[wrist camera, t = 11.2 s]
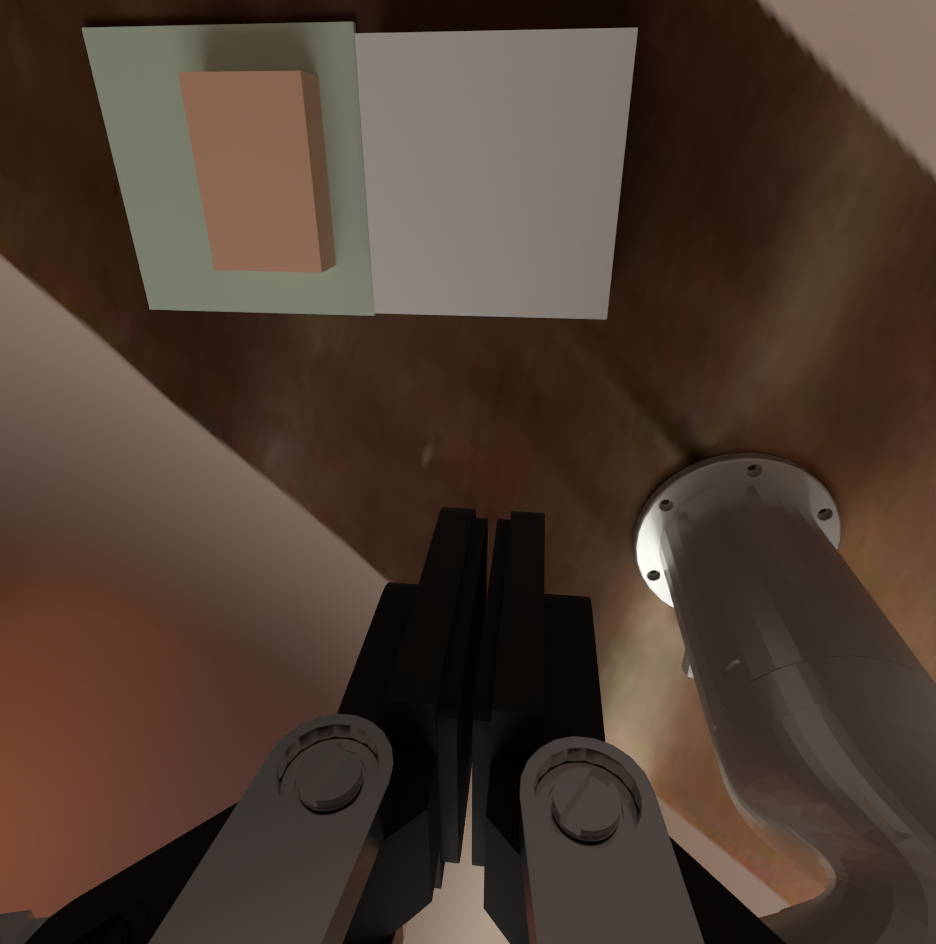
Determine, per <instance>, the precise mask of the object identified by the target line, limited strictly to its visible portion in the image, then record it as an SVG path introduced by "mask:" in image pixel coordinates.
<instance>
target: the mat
mask: <svg viewBox="0 0 936 944" xmlns="http://www.w3.org/2000/svg"><path fill="white" fill-rule="evenodd" d="M82 32H83V36H84V40H85V44H86V48H87V52H88V57H89V61H90V65H91V69H92V73H93V77H94V81H95V85H96V89H97V94H98V98H99V102H100V106H101V110H102V114H103V118H104V122H105V127H106V131H107V135H108V139H109V143H110V147H111V151H112V155H113V159H114V164H115V168H116V172H117V176H118V180H119V184H120V188H121V192H122V196H123V201H124V205H125V209H126V213H127V217H128V221H129V225H130V229H131V234H132V238H133V242H134V246H135V250H136V254H137V258H138V262H139V266H140V271H141V275H142V279H143V283H144V287H145V291H146V295H147V299H148V303H149V308H150V309H152V310H188V311H225V312H261V313H297V314H333V315H369V316H374V315H375V314H376V313H374V301H373V287H372V273H371V259H370V245H369V231H368V217H367V203H366V189H365V175H364V161H363V147H362V133H361V119H360V105H359V91H358V77H357V63H356V49H355V35H354V33H356V23H355V22H312V23H268V24H223V25H179V26H134V27H90V28H82ZM219 71H303V72H306V73H309V74H312V75H315V76H318V78H319V88H320V99H321V109H322V120H323V131H324V141H325V152H326V163H327V173H328V184H329V194H330V205H331V216H332V226H333V237H334V248H335V258H336V266H334V267H332V268H330V269H328V270H326V271H324V272H322V273H311V272H270V271H229V270H214V265H213V259H212V254H211V249H210V243H209V238H208V232H207V227H206V222H205V216H204V211H203V205H202V200H201V195H200V189H199V184H198V178H197V173H196V168H195V162H194V157H193V151H192V146H191V140H190V135H189V130H188V124H187V119H186V113H185V108H184V103H183V97H182V92H181V86H180V81H179V76H178V72H219Z"/></svg>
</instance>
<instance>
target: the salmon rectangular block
mask: <svg viewBox="0 0 936 944" xmlns="http://www.w3.org/2000/svg"><path fill="white" fill-rule="evenodd" d="M178 76H179V81H180V86H181V92H182V97H183V103H184V108H185V113H186V119H187V124H188V130H189V135H190V140H191V146H192V151H193V157H194V162H195V168H196V173H197V178H198V184H199V189H200V195H201V200H202V205H203V211H204V216H205V222H206V227H207V232H208V238H209V243H210V249H211V254H212V259H213V265H214V270H229V271H270V272H311V273H322V272H324V271H326V270H328V269H330V268H332V267H334V266H336V258H335V248H334V237H333V226H332V216H331V205H330V194H329V184H328V173H327V163H326V152H325V141H324V131H323V120H322V109H321V99H320V88H319V78H318V76H315V75H312V74H309V73H306V72H303V71H219V72H178Z"/></svg>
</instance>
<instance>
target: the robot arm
mask: <svg viewBox="0 0 936 944" xmlns="http://www.w3.org/2000/svg"><path fill="white" fill-rule="evenodd" d="M751 465H753V466H752V467H750V466H751ZM666 499H667V500H666ZM663 500H666V501H663ZM840 540H841V519H840V515H839V512H838V508H837V505H836V503H835V502H834V500H833V498H832V497H831V495H830V493H829V492H828V490H827V489H826V488H825V487H824V486H823V485H822V483H821V482H820V481H819V480H818V479H817V478H816V477H815V476H814V475H812V474H811V473H810V472H808V471H807V470H806V469H805V468H803V467H801V466H799V465H797V464H795V463H793V462H791V461H789V460H787V459H784V458H780V457H776V456H773V455H769V454H760V453H749V452H746V453H732V454H724V455H720V456H716V457H712V458H707V459H705V460H702V461H700V462H697V463H695V464H692V465H690V466H688V467H686V468H684V469H683V470H681V471H679V472H678V473H676V474H675V475H673V476H671V477H670V478H669V479H668V480H667V481H665V482H664V483H663V484H662V485H661V486H660V487H658V488H657V489H656V491H655V492H654V493H653V494H652V496H651V497H650V498H649V499H648V501H647V502H646V503H645V505H644V507H643V509H642V511H641V513H640V515H639V517H638V520H637V523H636V527H635V531H634V546H633V548H634V553H635V559H636V563H637V566H638V569H639V572H640V575H641V577H642V579H643V580H644V582H645V583H646V585H647V587H648V588H649V589H650V590H651V591H652V592H653V593H654V594H655V595H656V596H657V597H658V598H659V599H660V600H661V601H663V602H664V603H666V604H667V605H669V606H670V607H671V608H674V610H675V613H676V617H677V620H678V624H679V627H680V631H681V635H682V638H683V642H684V645H685V653H684V657H683V662H682V669H683V671H684V673H685V674H686V675H687V676H689V677H691V678H693V679H694V681H695V684H696V688H697V691H698V695H699V698H700V702H701V705H702V709H703V712H704V716H705V719H706V723H707V727H708V730H709V734H710V737H711V741H712V744H713V748H714V751H715V755H716V759H717V762H718V765H719V769H720V772H721V776H722V779H723V782H724V784H725V787H726V789H727V792H728V794H729V796H730V798H731V799H732V801H733V803H734V805H735V807H736V809H737V810H738V811H739V813H740V814H741V816H742V817H743V818H744V820H745V821H746V822H747V824H748V825H749V826H750V828H751V829H752V830H753V831H754V832H755V833H756V834H757V835H758V836H759V837H760V838H761V839H762V840H763V841H764V842H765V843H766V844H767V845H768V846H769V847H770V848H772V849H773V850H774V851H775V852H777V853H778V854H779V855H780V856H782V857H783V858H784V859H785V860H787V861H788V862H789V863H790V864H792V865H793V866H795V867H796V868H797V869H799V870H800V871H802V872H803V873H804V874H806V875H807V876H809V877H810V878H812V879H813V880H815V881H816V882H817V883H819V884H820V885H822V886H823V887H825V888H826V889H825V891H824V892H823V893H822V894H820V895H819V896H817V897H815V898H814V899H811V900H808V901H806V902H803V903H800V904H797V905H794V906H791V907H788V908H784V909H782V910H781V911H780V912H778V913H775V914H771V915H767V916H764V917H760V918H758V917H757V916H756V915H755V914H753V913H752V912H751V911H750V910H749V909H748V908H747V907H746V906H745V905H744V904H743V903H741V902H740V901H739V900H738V899H737V898H736V897H735V896H734V895H733V894H732V893H731V892H729V891H728V890H727V889H726V888H725V887H724V886H723V885H722V884H721V883H720V882H719V881H717V880H716V879H715V878H714V877H713V876H712V875H711V874H710V873H709V872H708V871H707V870H706V869H704V868H703V867H702V866H701V865H700V864H699V863H698V862H697V861H696V860H695V859H694V858H692V857H691V856H690V855H689V854H688V853H687V852H686V851H685V850H684V849H683V848H682V847H680V846H679V845H678V844H677V843H676V842H675V841H674V840H673V839H672V838H670V836H669V835H668V832H667V829H666V826H665V822H664V819H663V816H662V814H661V810H660V807H659V804H658V801H657V798H656V795H655V792H654V790H653V788H652V786H651V784H650V782H649V780H648V778H647V776H646V774H645V772H644V771H643V770H642V769H641V768H640V767H639V766H638V765H637V764H636V762H635V761H634V760H633V759H632V758H631V757H630V756H628V755H627V754H625V753H624V752H622V751H621V750H619V749H618V748H616V747H615V746H613V745H611V744H608V743H605V734H604V724H603V714H602V704H601V694H600V684H599V674H598V664H597V654H596V644H595V635H594V625H593V615H592V605H591V600H590V597H581V596H568V595H554V594H544V543H545V514H544V513H534V512H517V511H511V519H510V520H504V519H498V521H497V528H496V535H495V543H494V550H493V558H492V565H491V573H490V580H489V588H488V595H487V544H488V519H487V518H476V511H475V509H467V508H450V507H442V508H441V511H440V514H439V518H438V521H437V524H436V528H435V531H434V534H433V538H432V541H431V544H430V548H429V551H428V555H427V558H426V561H425V565H424V568H423V571H422V575H421V578H420V581H419V585H417V584H403V583H390V582H389V583H388V584H387V585H386V586H385V588H384V590H383V592H382V595H381V598H380V601H379V603H378V606H377V609H376V611H375V614H374V617H373V620H372V622H371V625H370V627H369V630H368V633H367V635H366V638H365V641H364V643H363V646H362V649H361V651H360V654H359V657H358V659H357V662H356V665H355V667H354V670H353V673H352V675H351V678H350V681H349V684H348V686H347V689H346V692H345V694H344V697H343V699H342V702H341V705H340V707H339V710H338V713H337V714H332V715H327V716H320V717H317V718H314V719H312V720H310V721H307V722H305V723H302V724H300V725H299V726H297V727H296V728H295V729H293V730H292V731H290V732H289V733H288V734H286V735H285V736H284V737H283V738H282V739H281V740H280V741H279V743H278V744H277V745H276V746H275V748H274V749H273V750H272V751H271V752H270V754H269V755H268V757H267V759H266V760H265V762H264V763H263V765H262V766H261V768H260V769H259V771H258V773H257V774H256V776H255V777H254V779H253V780H252V782H251V784H250V785H249V787H248V788H247V790H246V791H245V793H244V794H243V796H242V798H241V799H240V801H239V802H238V803H236V804H234V805H232V806H231V807H229V808H227V809H226V810H224V811H222V812H221V813H219V814H217V815H216V816H214V817H212V818H211V819H209V820H207V821H206V822H204V823H202V824H200V825H199V826H197V827H195V828H194V829H192V830H190V831H189V832H187V833H185V834H184V835H182V836H180V837H179V838H177V839H175V840H174V841H172V842H170V843H169V844H167V845H166V846H164V847H162V848H160V849H158V850H157V851H155V852H153V853H152V854H150V855H148V856H147V857H145V858H143V859H142V860H140V861H138V862H137V863H135V864H133V865H132V866H130V867H128V868H126V869H125V870H123V871H121V872H120V873H118V874H117V875H115V876H113V877H111V878H110V879H108V880H106V881H105V882H103V883H101V884H100V885H98V886H96V887H94V888H93V889H91V890H89V891H88V892H86V893H85V894H83V895H81V896H79V897H78V898H76V899H74V900H73V901H71V902H70V903H69V904H67V905H66V906H65V907H63V908H62V909H60V910H59V911H58V912H57V913H55V914H54V915H52V916H51V917H45V918H38V919H36V917H35V916H34V914H33V913H32V911H31V910H27V911H19V912H11V913H4V914H0V944H402V943H403V940H404V935H405V930H406V924H407V922H408V921H409V920H410V919H411V918H413V916H415V915H416V914H417V913H419V912H420V911H421V910H422V909H423V908H424V907H426V906H427V905H428V904H429V903H430V902H431V901H432V897H433V890H434V888H439V889H441V886H442V879H443V871H444V865H445V862H450V863H459V862H460V857H461V850H462V842H463V834H464V825H465V817H466V809H467V801H468V793H469V784H470V776H471V768H472V865H475V866H484V867H485V872H484V876H485V877H484V909H485V910H486V912H487V913H488V914H489V916H490V917H491V919H492V920H493V921H494V922H495V924H496V925H497V926H498V928H499V929H500V931H501V932H502V933H503V935H504V936H505V937H506V939H507V940H508V942H509V943H510V944H936V684H935V682H934V681H933V680H932V678H931V677H930V676H929V674H928V673H927V671H926V670H925V669H924V667H923V666H922V665H921V663H920V662H919V661H918V659H917V658H916V657H915V655H914V654H913V652H912V651H911V650H910V648H909V647H908V646H907V644H906V643H905V642H904V640H903V639H902V638H901V636H900V635H899V633H898V632H897V631H896V629H895V628H894V627H893V625H892V624H891V623H890V621H889V620H888V619H887V617H886V616H885V614H884V613H883V612H882V610H881V609H880V608H879V606H878V605H877V604H876V602H875V601H874V600H873V598H872V597H871V595H870V594H869V593H868V591H867V590H866V589H865V587H864V586H863V585H862V583H861V582H860V581H859V579H858V578H857V576H856V575H855V574H854V572H853V571H852V570H851V568H850V567H849V566H848V564H847V563H846V562H845V560H844V559H843V557H842V556H841V555H840V553H839V552H838V549H839V545H840ZM486 599H487V603H486Z"/></svg>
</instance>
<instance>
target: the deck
mask: <svg viewBox="0 0 936 944" xmlns="http://www.w3.org/2000/svg"><path fill="white" fill-rule="evenodd" d="M637 32H638V28H595V29H546V30H497V31H448V32H399V33H354V35H355V49H356V63H357V77H358V91H359V105H360V119H361V133H362V147H363V161H364V175H365V189H366V203H367V217H368V231H369V245H370V259H371V273H372V287H373V301H374V313H389V314H426V315H463V316H499V317H536V318H573V319H607V312H608V303H609V293H610V284H611V275H612V265H613V256H614V247H615V237H616V228H617V219H618V209H619V200H620V191H621V181H622V172H623V163H624V153H625V144H626V135H627V125H628V116H629V107H630V97H631V88H632V79H633V69H634V60H635V51H636V41H637Z"/></svg>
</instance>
